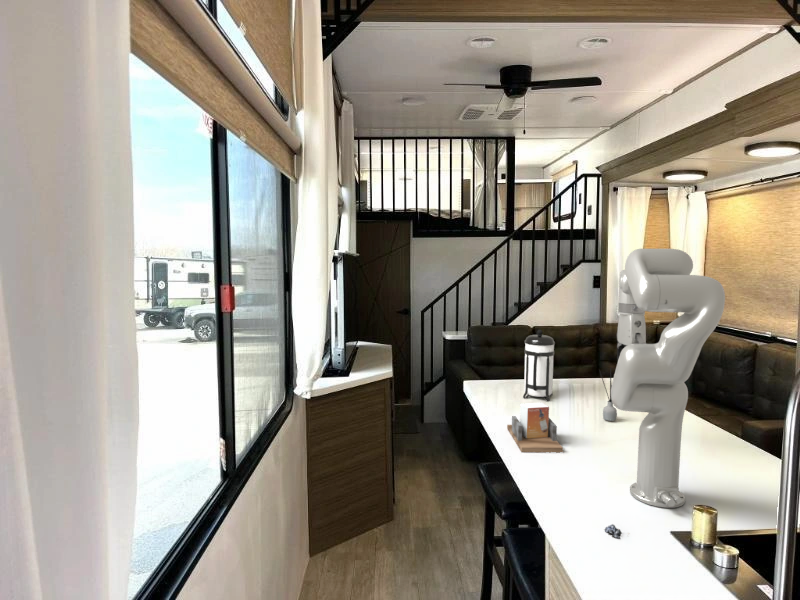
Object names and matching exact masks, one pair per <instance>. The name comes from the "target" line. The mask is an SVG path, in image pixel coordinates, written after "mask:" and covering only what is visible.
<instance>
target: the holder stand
mask: <svg viewBox="0 0 800 600" xmlns="http://www.w3.org/2000/svg"><path fill="white" fill-rule="evenodd" d="M506 428H507V431H508V432H509V434H510V436H511V438H512V439H513V440H514V442H515V444H516V446H517V447H518V449H519V452H521V453H546V452H549V453H551V452H556V454H557V453H560V452H563V453H564V451H563V450H564V448H563V446H562V445H561V444H560V442H558V440H557V435H558V434H557V430H558V429H557V428H558V427H557V424H556V423H554V422H553V420H552V419H551V418H550V417H549V423H548V437H547V438H528V439H527V438H525V437H524V436H522V425H521V423H520V419H518V418H517V416H514V415H513V416H512V417H511V424H507V425H506Z"/></svg>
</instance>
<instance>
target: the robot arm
mask: <svg viewBox="0 0 800 600" xmlns="http://www.w3.org/2000/svg"><path fill="white" fill-rule="evenodd" d="M693 263H694V261H693V258H692V257H691V256H690V255H689V254H688V253H687V252H685V251H684V250H681V249H677V248H638V249H634V250H632V251H631V252H630V253H629V254H628V256H627V258H626V259H625V263H624V269H622V270H621V271H620V273H619V278H618V288H619V289H618V306H617V307H618V308H617V313H618V315H619V316H618V323H617V332H616V342H617V345H616V347H617V348H616V349H617V351H616V360H617V364H616V367H615V371H614V374H613V378H612V381H611V385H612V386H611V400H612V403H613V407H614V408H616V409H618V410H619V411H625V412H635V413H636V412H637V413H648V414H647V415H646V416H645V417H644V418H643V420H642V421H641V423H640V425H639V428H638V431H639V432H638V448H637V449H638V450H637V466H636V467H637V470H636V482H634V483H632V484H631V485H629V493H630V495H631V496H632V497H633V498H634V499H636V500H637V501H639V502H641V503H644V504H647V505H649V506H654V507H658V508H668V509H671V508H679V507H682V506H683V505H684V504H685V502H686V497H685V495H684V494H683V493H682V492H681V491H680V490H679V489H680V488H679V485H680V484H679V483H680V465H681V464H680V462H681V447H682V446H681V444H682V443H681V441H682V433H683V432H682V431H683V422H684V417H685V412H686V411H685V410H686V407H687V405H688V399H689V391H688V390H689V389H688V387H687V385H686V383H685V382H686V381H687V380H688V379H689V378H690V376H691V375H692V373H693V371H694V367H695V365H696V363H697V360H698V358H699V356H700V353H701V351H702V348H703V346H704V344H705V342H706V341H707V340H708V338H709V337H710V335H711V334H712V333H713V332H714V331H715V329H716V327H717V326H718V324H719V322H720V321H721V319H722V316H723V313H724V309H725V305H726V303H725V302H726V295H725V294H726V293H725V289H724V286H723V285H722V283H721V282H720V281H718V280H717V279H715V278H713V277H710V276H706V275H699V274H691V273H692V271H693V270H694V269H693V268H694V264H693ZM646 312H650V313H655V312H656V313H683V314H682V315H680V316H678V317H677V318H676V319H674V320H672V321H671V322H670V323H669V324H668V325H667V326H666V327H664V329H663V330H662V332H661V334H660V338H659V341H658V342H656V343H647V342H646V341H647V336H646V334H647V333H646V332H647V331H646V330H647V325H646V319H645V315H646Z"/></svg>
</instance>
